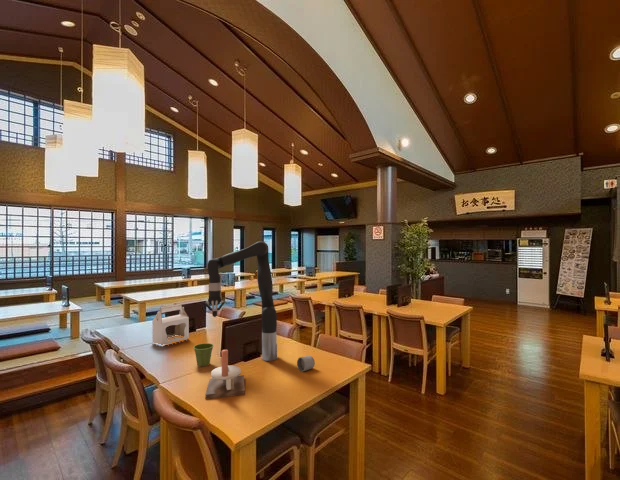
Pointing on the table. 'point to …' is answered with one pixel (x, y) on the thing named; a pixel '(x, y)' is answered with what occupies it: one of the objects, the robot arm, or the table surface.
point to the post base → (219, 387)
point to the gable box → (178, 320)
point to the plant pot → (203, 353)
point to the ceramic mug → (305, 363)
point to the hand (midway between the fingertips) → (214, 316)
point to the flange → (225, 370)
